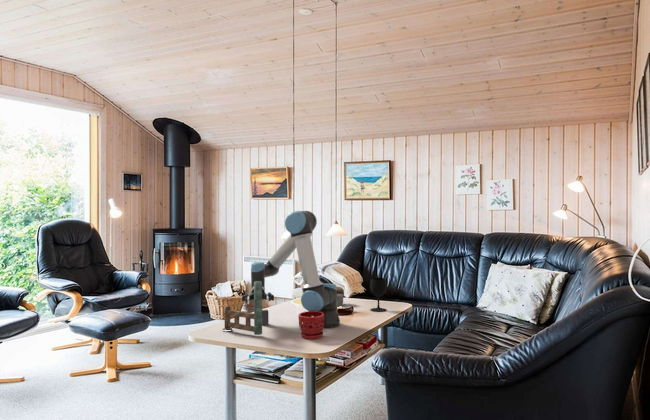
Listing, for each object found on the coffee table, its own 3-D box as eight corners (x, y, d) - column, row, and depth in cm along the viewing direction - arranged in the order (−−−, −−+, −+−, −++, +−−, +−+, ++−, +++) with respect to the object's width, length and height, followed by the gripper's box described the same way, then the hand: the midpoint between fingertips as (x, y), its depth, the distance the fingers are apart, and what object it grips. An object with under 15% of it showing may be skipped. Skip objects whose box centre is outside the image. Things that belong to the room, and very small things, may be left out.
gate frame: (269, 324, 289) (269, 310, 289) (225, 332, 273) (225, 317, 273) (265, 323, 293) (264, 309, 293) (221, 330, 277) (220, 315, 277)
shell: (344, 306, 339) (344, 288, 339) (327, 306, 339) (327, 288, 339) (344, 303, 350) (343, 285, 349) (327, 303, 350) (327, 285, 350)
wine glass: (389, 309, 327) (389, 278, 327) (382, 312, 319) (382, 280, 318) (374, 307, 333) (374, 277, 333) (367, 310, 324) (367, 279, 324)
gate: (222, 328, 275) (222, 278, 275) (228, 326, 279) (227, 277, 278) (258, 335, 261) (258, 282, 260) (263, 333, 264) (263, 281, 264)
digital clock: (343, 309, 329) (343, 292, 329) (343, 312, 320) (343, 295, 320) (318, 309, 330) (318, 292, 329) (317, 312, 320) (317, 295, 320)
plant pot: (299, 333, 269) (299, 310, 269) (324, 333, 269) (324, 310, 268) (297, 340, 256) (297, 316, 256) (324, 340, 256) (323, 316, 255)
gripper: (278, 299, 283) (279, 307, 260) (237, 300, 280) (236, 309, 258) (277, 285, 283) (279, 293, 260) (237, 286, 280) (235, 294, 257)
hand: (258, 301), depth 259 cm, fingers open, 9 cm apart
